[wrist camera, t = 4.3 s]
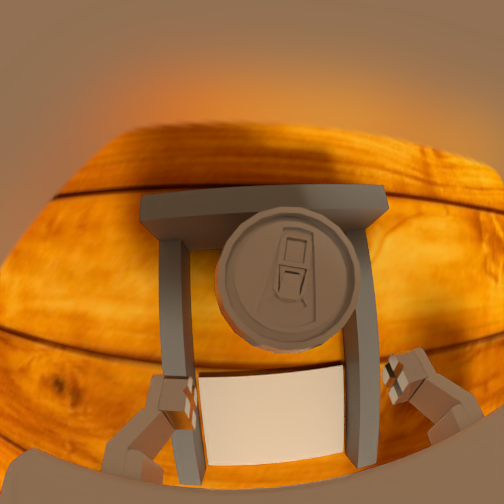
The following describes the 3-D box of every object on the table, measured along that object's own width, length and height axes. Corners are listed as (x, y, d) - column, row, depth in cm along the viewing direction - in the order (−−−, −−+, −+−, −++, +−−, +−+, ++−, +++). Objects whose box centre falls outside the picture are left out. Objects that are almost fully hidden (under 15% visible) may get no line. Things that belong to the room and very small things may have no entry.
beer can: (238, 262, 21) (228, 189, 10) (306, 273, 21) (370, 216, 10) (225, 331, 20) (196, 341, 8) (296, 342, 20) (356, 364, 8)
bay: (187, 467, 17) (166, 512, 10) (170, 232, 22) (141, 195, 15) (362, 449, 17) (398, 484, 11) (348, 223, 22) (383, 185, 16)
